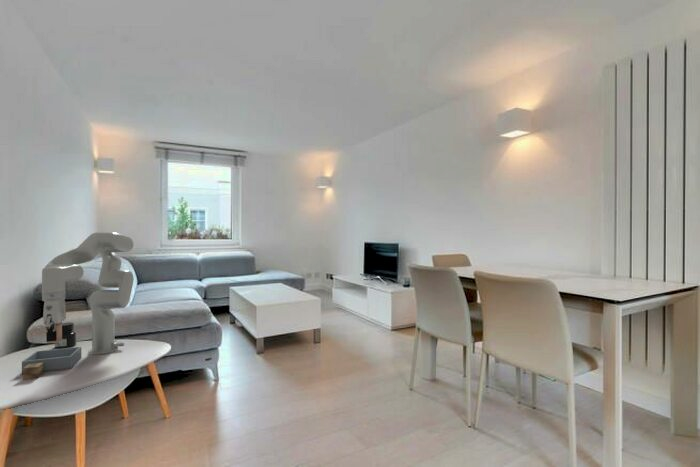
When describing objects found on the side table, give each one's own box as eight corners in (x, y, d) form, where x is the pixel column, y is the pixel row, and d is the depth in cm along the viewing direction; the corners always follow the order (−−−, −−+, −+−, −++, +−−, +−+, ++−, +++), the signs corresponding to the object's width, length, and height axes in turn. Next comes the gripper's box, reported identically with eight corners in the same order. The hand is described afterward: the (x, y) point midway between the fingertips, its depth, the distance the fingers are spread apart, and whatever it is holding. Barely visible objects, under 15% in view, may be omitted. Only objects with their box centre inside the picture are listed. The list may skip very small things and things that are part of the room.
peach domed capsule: (63, 338, 151) (63, 322, 151) (59, 341, 146) (59, 325, 146) (49, 339, 149) (49, 323, 149) (44, 343, 144) (44, 326, 144)
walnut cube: (43, 374, 153) (43, 362, 153) (38, 378, 148) (38, 366, 148) (28, 375, 151) (28, 364, 151) (23, 380, 146) (23, 368, 146)
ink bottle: (51, 347, 188) (51, 324, 188) (70, 342, 196) (70, 321, 196) (60, 349, 184) (60, 327, 183) (79, 345, 191) (79, 323, 191)
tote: (81, 358, 172) (81, 346, 172) (71, 368, 159) (71, 356, 159) (36, 362, 165) (36, 351, 165) (21, 374, 152) (21, 361, 152)
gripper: (57, 299, 141) (57, 344, 141) (72, 291, 157) (72, 332, 157) (33, 300, 138) (33, 346, 138) (51, 293, 154) (51, 334, 154)
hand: (54, 338), depth 148 cm, fingers closed on peach domed capsule, 5 cm apart
